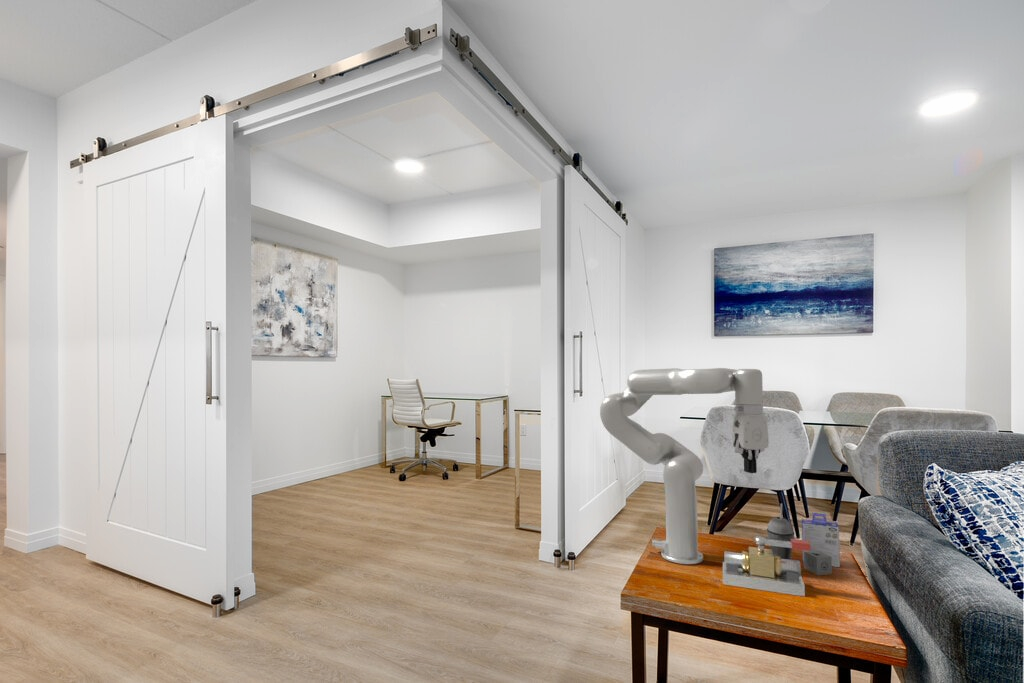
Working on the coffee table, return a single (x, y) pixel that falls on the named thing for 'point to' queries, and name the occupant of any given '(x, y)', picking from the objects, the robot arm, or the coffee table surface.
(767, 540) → the valve lever
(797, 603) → the coffee table surface
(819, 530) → the ink cartridge box
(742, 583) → the pipe valve board
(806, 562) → the dice cube
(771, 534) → the beverage cup
